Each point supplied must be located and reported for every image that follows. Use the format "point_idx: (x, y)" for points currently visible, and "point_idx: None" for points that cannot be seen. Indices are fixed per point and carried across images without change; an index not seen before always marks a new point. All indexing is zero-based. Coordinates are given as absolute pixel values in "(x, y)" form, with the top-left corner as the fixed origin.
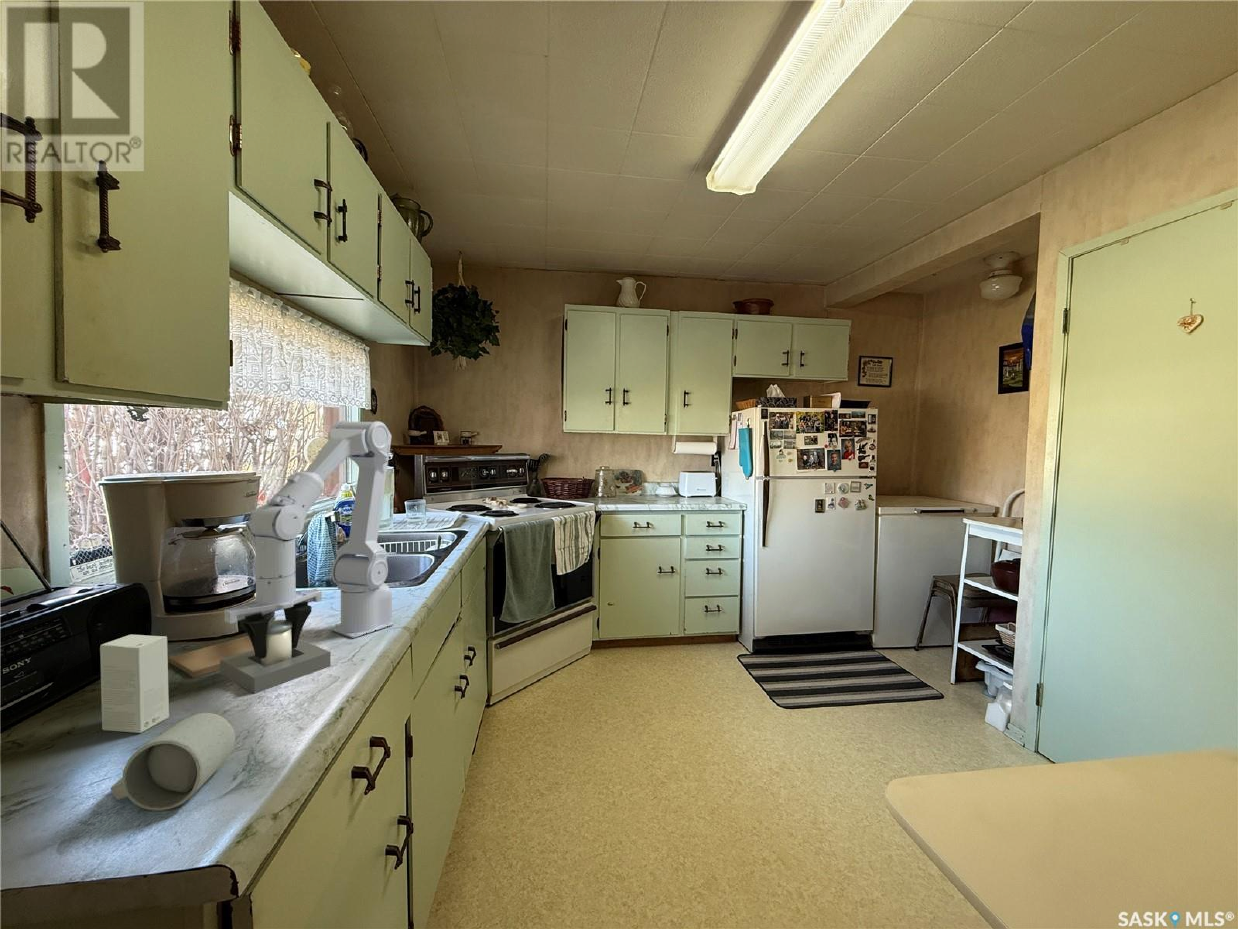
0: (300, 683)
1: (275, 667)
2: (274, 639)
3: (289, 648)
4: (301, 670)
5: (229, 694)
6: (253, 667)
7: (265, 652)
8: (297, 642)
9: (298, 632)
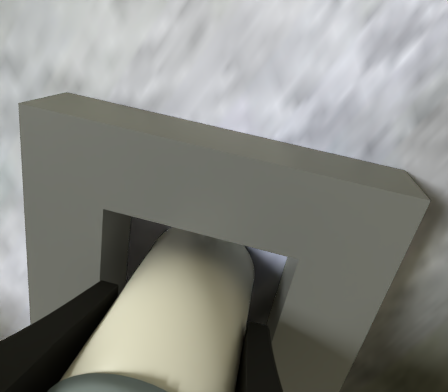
0: (251, 60)
1: (284, 210)
2: (199, 370)
3: (141, 283)
4: (191, 128)
5: (434, 260)
6: (321, 304)
7: (251, 338)
8: (85, 292)
9: (44, 329)
